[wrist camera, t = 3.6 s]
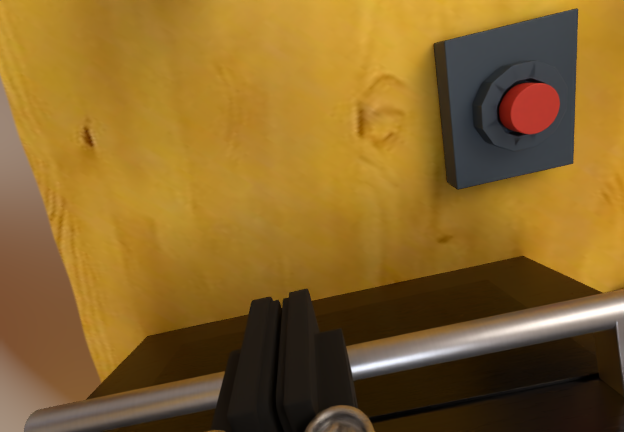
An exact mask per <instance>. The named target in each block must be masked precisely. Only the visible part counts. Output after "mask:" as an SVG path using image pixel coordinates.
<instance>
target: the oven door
mask: <svg viewBox="0 0 624 432" xmlns="http://www.w3.org/2000/svg"><path fill="white" fill-rule="evenodd" d="M312 305H313V309H314V313H315V316H316V320H317V324H318V327H319V331H320V332H324V331H328V330H333V329H338V328H341V329H342V332H343V336H344V340H345V344H346V348H347V353H348V357H349V362H350V366H351V371H352V376H353V382H354V388H355V393H356V399H357V405H358V409H360V410H361V411H362V412H363V413H364V414H366V415H367V417H368V418H369V420H370V421H371V423H372V425H373V428H374V430H375V432H624V289H621V290H617V291H612V292H607V293H602V292H600V291H598V290H595V289H593V288H591V287H589V286H587V285H585V284H583V283H580V282H578V281H576V280H574V279H572V278H570V277H567V276H565V275H563V274H561V273H559V272H557V271H555V270H552V269H550V268H548V267H546V266H544V265H542V264H539V263H537V262H535V261H533V260H531V259H529V258H527V257H524V256H521V257H516V258H511V259H507V260H502V261H497V262H493V263H488V264H483V265H479V266H474V267H469V268H465V269H460V270H455V271H450V272H446V273H441V274H436V275H432V276H427V277H422V278H418V279H413V280H408V281H404V282H399V283H394V284H390V285H385V286H380V287H375V288H371V289H366V290H361V291H357V292H352V293H347V294H343V295H338V296H333V297H329V298H324V299H319V300H315V301H312ZM248 316H249V315H244V316H240V317H235V318H230V319H226V320H221V321H216V322H211V323H207V324H202V325H197V326H193V327H188V328H183V329H179V330H174V331H169V332H165V333H160V334H155V335H151V336H147V337H146V338H145V339H144V340H143V341H142V342H141V343H140V344H139V345H138V346H137V348H136V349H135V350H134V351H133V352H132V353H131V354H130V355H129V356H128V357H127V358H126V359H125V360H124V361H123V362H122V363H121V364H120V365H119V366H118V367H117V368H116V369H115V370H114V371H113V372H112V373H111V374H110V375H109V376H108V377H107V378H106V379H105V380H104V381H103V382H102V383H101V384H100V386H99V387H98V388H97V389H96V390H95V391H94V392H93V393H92V394H91V395H90V396H89V397H88V398H87V399H86V400H83V401H78V402H73V403H68V404H63V405H59V406H54V407H49V408H44V409H40V410H36V411H35V412H33V413H32V414H31V415H30V416H29V418H28V419H27V421H26V424H25V428H24V432H206V431H210V428H211V424H212V420H213V417H214V413H215V409H216V405H217V401H218V397H219V393H220V389H221V385H222V381H223V377H224V374H225V370H226V366H227V362H228V358H229V355H230V352H231V351H233V350H237V349H241V348H242V343H243V339H244V334H245V329H246V325H247V320H248Z"/></svg>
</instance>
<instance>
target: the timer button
mask: <svg viewBox="0 0 624 432" xmlns="http://www.w3.org/2000/svg"><path fill="white" fill-rule="evenodd" d="M559 107H560V100H559V96H558V93H557V92H556V90H555V89H554V88H553V87H551V86H550V85H548V84H544V83H522V84H518V85H516V86H514V87H513V88H511V89H510V90H509V91H508V92H507V93H506V94H505V96H504V97H503V99H502V101H501V103H500V106H499V117H500V120H501V122H502V124H503V125H504V126H505V127H506V128H507V129H509V130H512V131H515V132H519V133H523V134H536V133H539V132H541V131H543V130H545V129H546V128H548V127H549V126H550V125H551V124H552V123H553V121H554V120H555V118H556V116H557V114H558V111H559Z"/></svg>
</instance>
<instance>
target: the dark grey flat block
mask: <svg viewBox="0 0 624 432" xmlns="http://www.w3.org/2000/svg"><path fill="white" fill-rule="evenodd" d="M577 29H578V9H577V8H576V9H572V10H568V11H564V12H560V13H556V14H552V15H548V16H544V17H539V18H535V19H531V20H527V21H523V22H519V23H515V24H511V25H507V26H503V27H499V28H495V29H491V30H486V31H482V32H478V33H474V34H470V35H466V36H462V37H458V38H454V39H450V40H446V41H442V42H438V43H434V52H435V62H436V72H437V82H438V93H439V103H440V113H441V124H442V134H443V144H444V155H445V165H446V175H447V182H448V183H449V184H450V185H452V186H453V187H455V188H456V189H462V188H467V187H471V186H475V185H480V184H484V183H489V182H493V181H498V180H502V179H507V178H511V177H516V176H520V175H524V174H529V173H533V172H538V171H542V170H547V169H551V168H556V167H560V166H565V165H569V164H573V153H574V122H575V91H576V60H577ZM522 83H544V84H548V85H550V86H551V87H553V88H554V89H555V90H556V92H557V93H558V96H559V100H560V107H559V111H558V114H557V116H556V118H555V120H554V121H553V123H552V124H551V125H550V126H549V127H548V128H546V129H545V130H543V131H541V132H539V133H536V134H523V133H519V132H515V131H512V130H509V129H507V128H506V127H505V126H504V125H503V124H502V122H501V120H500V117H499V106H500V103H501V101H502V99H503V97H504V96H505V94H506V93H507V92H508V91H509V90H510V89H511V88H513V87H514V86H516V85H518V84H522Z"/></svg>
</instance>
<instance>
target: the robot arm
mask: <svg viewBox="0 0 624 432" xmlns="http://www.w3.org/2000/svg"><path fill="white" fill-rule="evenodd" d="M206 432H375V430H374V428H373V425H372V423H371V421H370V420H369V418H368V417H367V415H366V414H364V413H363V412H362V411H361V410H360V409H358V405H357V399H356V393H355V388H354V382H353V376H352V371H351V366H350V362H349V357H348V353H347V348H346V344H345V340H344V336H343V332H342V329H341V328H338V329H333V330H328V331H324V332H320V331H319V327H318V324H317V320H316V316H315V313H314V309H313V305H312V301H311V298H310V294H309V291H308V289H303V290H299V291H294V292H290V293H289V298H285V299H283V307H282V308H281V305H280V302H279V300H275V301H273V299H272V298H271V297H266V298H261V299H257V300H253V301H252V302H251V306H250V311H249V316H248V320H247V325H246V329H245V334H244V339H243V343H242V348H241V349H237V350H233V351H231V352H230V355H229V358H228V362H227V366H226V370H225V374H224V377H223V381H222V385H221V389H220V393H219V397H218V401H217V405H216V409H215V413H214V417H213V420H212V424H211V428H210V431H206Z"/></svg>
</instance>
